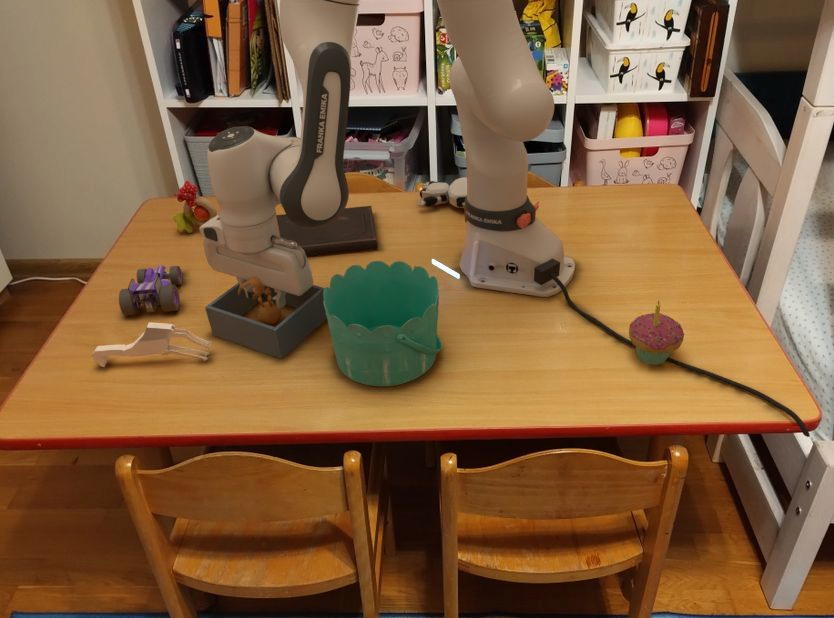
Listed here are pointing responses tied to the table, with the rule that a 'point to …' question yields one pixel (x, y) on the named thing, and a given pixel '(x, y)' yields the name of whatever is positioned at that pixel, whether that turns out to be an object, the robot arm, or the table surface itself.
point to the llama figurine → (152, 344)
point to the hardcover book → (334, 233)
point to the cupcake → (655, 336)
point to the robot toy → (444, 193)
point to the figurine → (266, 309)
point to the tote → (261, 336)
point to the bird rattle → (201, 211)
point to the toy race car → (152, 291)
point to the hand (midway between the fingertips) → (266, 301)
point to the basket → (383, 322)
